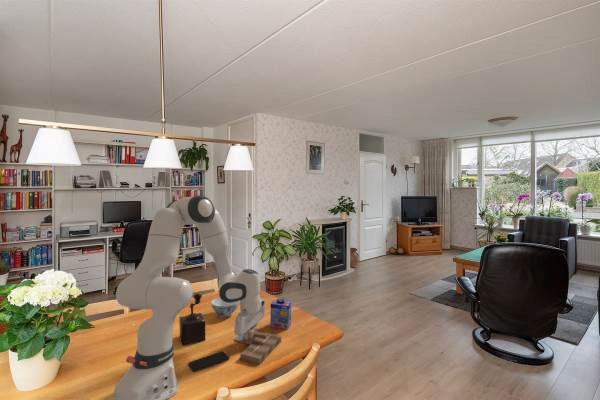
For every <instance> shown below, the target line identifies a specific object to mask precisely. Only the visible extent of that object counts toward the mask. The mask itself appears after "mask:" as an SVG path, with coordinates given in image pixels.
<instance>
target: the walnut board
mask: <svg viewBox="0 0 600 400" xmlns="http://www.w3.org/2000/svg"><path fill="white" fill-rule="evenodd" d="M263 333H265V334H268V338H267V339H261V338H257V339H256V340H255V341H254V342H253V343H252V344H251V345H250V344H249V345H248V346H247V347H245V349H244V350H243V351H242V352H240V355H239V356H240V357H239V358H240V359H239V360H240V361H243V362H248V363H251V364H255V365H259V366H260V365H261V364H262V363H264V361H265V360H266V359H267V358H268V357H269V355H270V354H271V353H273V351H274V350H275V349H276V348H277V347H278V346H279V344H280V343H281V342H282V335H277V334H274V333H270V332H263Z"/></svg>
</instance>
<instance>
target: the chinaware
mask: <svg viewBox="0 0 600 400" xmlns="http://www.w3.org/2000/svg"><path fill="white" fill-rule="evenodd" d="M210 304H211V307H212V310H213V311H214V312H215V313H216V314H217V315H218V316H219V317H220V318H228V317H231V316H232V315H233V313H235V311H237V308H238V306H239V305H240V301H236V302H231V303H227V302H224V301H223V300H222V299H221V298H220V296H218V297H216V298H214V299H212V300H211V303H210Z"/></svg>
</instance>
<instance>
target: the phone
mask: <svg viewBox="0 0 600 400" xmlns="http://www.w3.org/2000/svg"><path fill="white" fill-rule="evenodd" d="M227 361H230V357H229V356H228V354H226V352H225V351H222V350H221V351H218V352H215V353H212V354H209V355H206V356H203V357H200V358H198V359H194V360H191V361H189V362H188V363H187V365H188V367H189V368H190V371H191V372H193V373H196V372H199V371H201V370H205V369H208V368H210V367H213V366H215V365H219V364H222V363H224V362H227Z"/></svg>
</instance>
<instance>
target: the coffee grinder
mask: <svg viewBox="0 0 600 400" xmlns="http://www.w3.org/2000/svg"><path fill="white" fill-rule="evenodd" d="M202 297H203V295H202V293H200V292H198V293H194V294H193V299H194V301H195V302H194V303H193V302H191V303H189V304H190V305H189V309H190V314H187V315H183V316H182V315H181V316H179V320H178V321H179V323H178V324H179V340H180V344H181V346H187V345H189V346H190V345H193V344H197V343H202V342H206V341H207V340H206V335H207V334H206V319H205V318H204V316H203V313H202V312H199V313H196V312H194V306H196V305H199V304H201V302H202V301H201V299H202Z"/></svg>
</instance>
